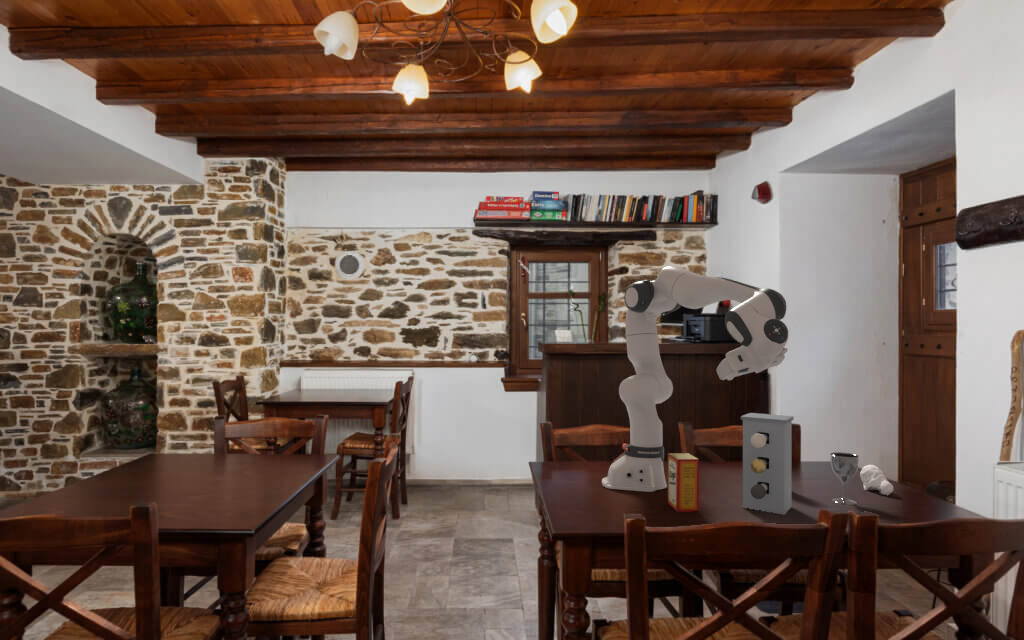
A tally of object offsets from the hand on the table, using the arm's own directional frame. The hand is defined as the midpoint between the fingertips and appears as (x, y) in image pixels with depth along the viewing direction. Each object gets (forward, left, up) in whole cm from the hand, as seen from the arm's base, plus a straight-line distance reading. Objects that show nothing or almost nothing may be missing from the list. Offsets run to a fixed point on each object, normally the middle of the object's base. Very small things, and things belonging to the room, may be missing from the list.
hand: (742, 374), depth 196 cm
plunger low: (+3, -9, -36) cm, 37 cm away
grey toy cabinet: (+7, -3, -41) cm, 41 cm away
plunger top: (+3, -9, -21) cm, 23 cm away
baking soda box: (-19, -6, -41) cm, 46 cm away
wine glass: (+34, +7, -41) cm, 53 cm away
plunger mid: (+3, -9, -28) cm, 30 cm away
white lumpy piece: (+51, +21, -41) cm, 68 cm away
